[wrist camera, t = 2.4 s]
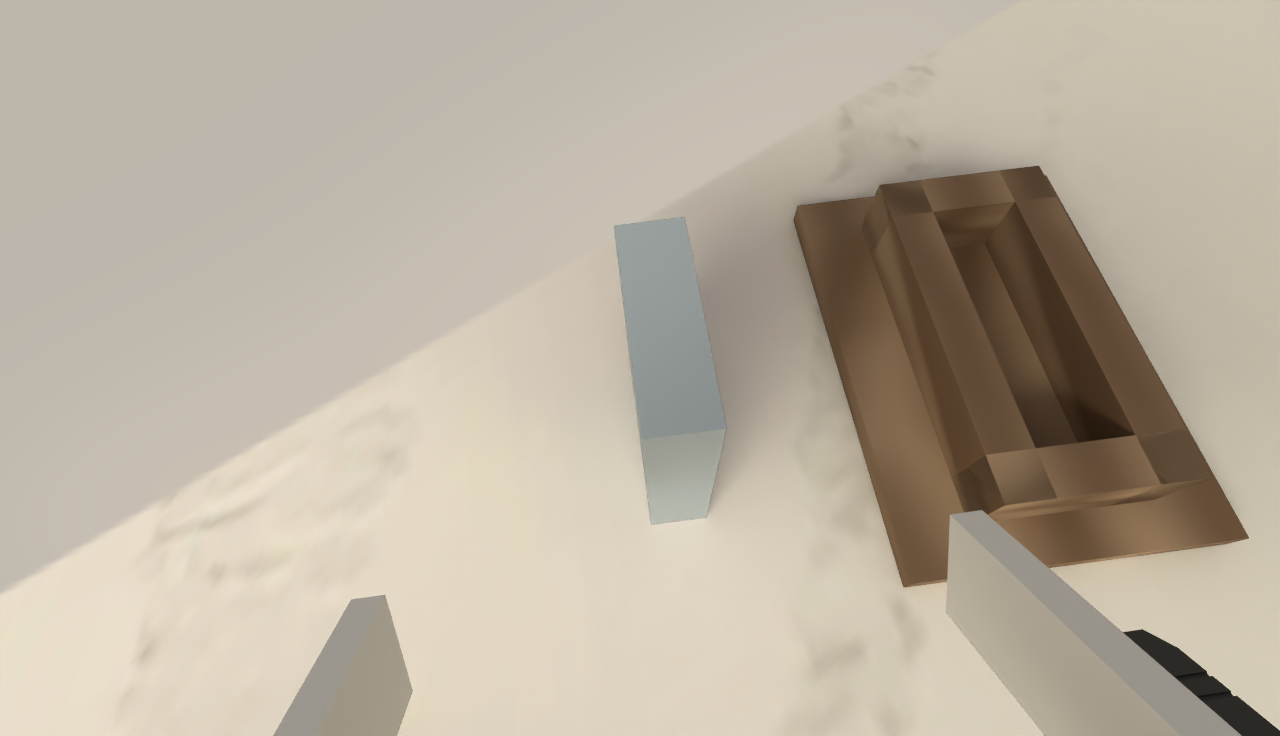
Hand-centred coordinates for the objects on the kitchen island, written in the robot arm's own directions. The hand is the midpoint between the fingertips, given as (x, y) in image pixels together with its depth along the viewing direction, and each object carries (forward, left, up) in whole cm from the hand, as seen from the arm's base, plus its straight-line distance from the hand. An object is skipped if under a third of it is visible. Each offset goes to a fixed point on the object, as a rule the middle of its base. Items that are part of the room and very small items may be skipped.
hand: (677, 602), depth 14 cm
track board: (-17, -11, -13) cm, 24 cm away
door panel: (-1, -9, -13) cm, 15 cm away
